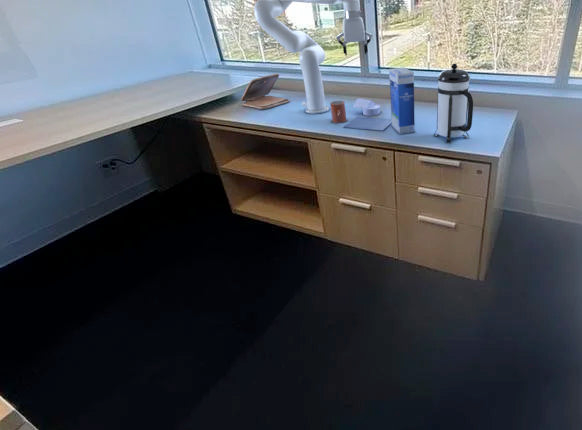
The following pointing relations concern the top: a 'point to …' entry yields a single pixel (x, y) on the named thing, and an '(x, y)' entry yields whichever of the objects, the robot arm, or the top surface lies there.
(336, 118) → the mug
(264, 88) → the case
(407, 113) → the string lights box
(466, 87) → the coffee press
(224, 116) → the top surface
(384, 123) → the blue rectangular mat
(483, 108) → the top surface
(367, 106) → the wedge on round base
